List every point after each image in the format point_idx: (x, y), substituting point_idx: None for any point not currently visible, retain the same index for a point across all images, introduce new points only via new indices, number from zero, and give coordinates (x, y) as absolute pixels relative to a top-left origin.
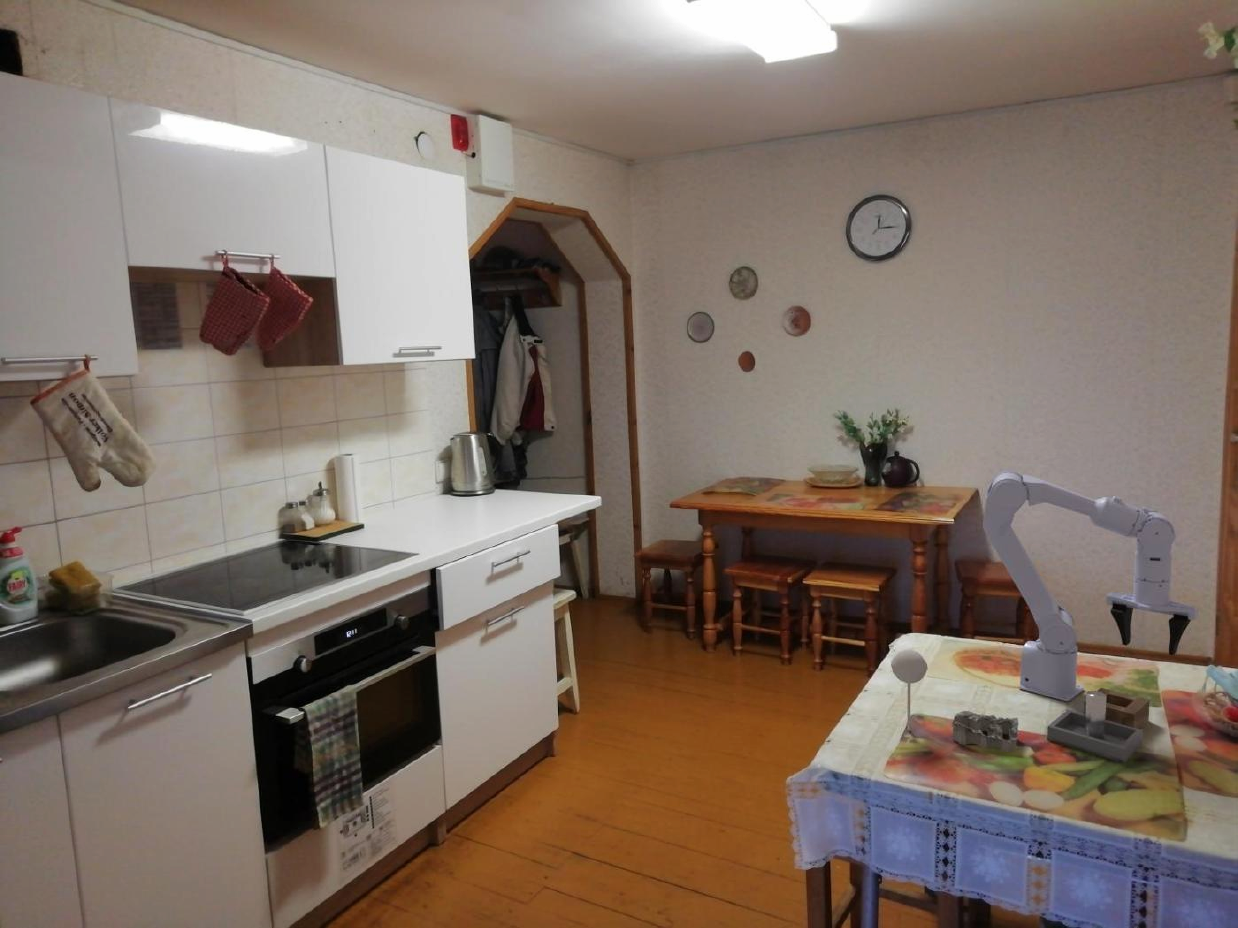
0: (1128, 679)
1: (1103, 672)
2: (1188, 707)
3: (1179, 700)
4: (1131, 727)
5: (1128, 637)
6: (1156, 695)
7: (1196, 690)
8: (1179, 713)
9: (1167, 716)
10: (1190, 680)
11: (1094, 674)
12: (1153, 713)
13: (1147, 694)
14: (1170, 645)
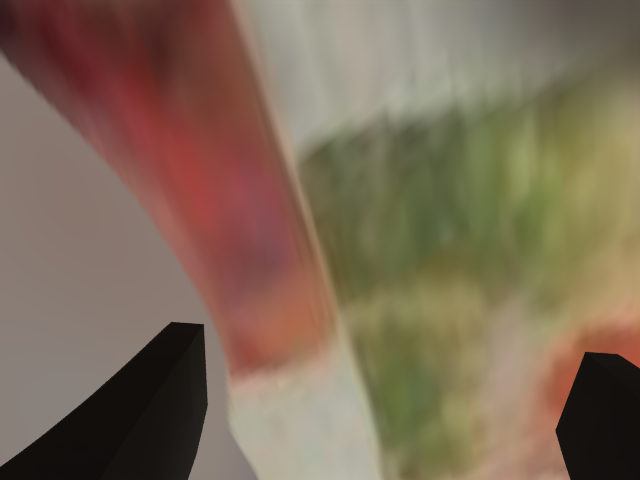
0: (473, 374)
1: None
2: (201, 224)
3: (253, 276)
4: None
5: (601, 448)
6: (343, 276)
7: (232, 400)
8: (209, 130)
9: (240, 53)
10: (275, 468)
11: None
12: (304, 48)
13: (377, 266)
14: (152, 378)
